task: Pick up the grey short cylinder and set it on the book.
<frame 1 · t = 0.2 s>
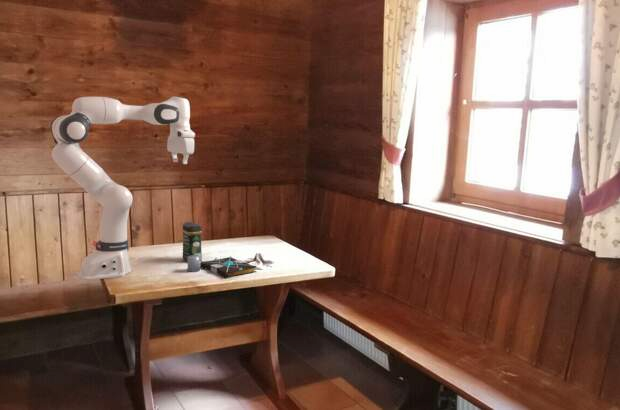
hand: (180, 163, 240), 47 cm above the table, fingers open, 8 cm apart
coffee jar: (192, 260, 252), on the table
cloth: (261, 264, 251), on the table, touching book
book: (228, 271, 238), on the table, touching cloth
grey short cylinder: (193, 270, 235), on the table
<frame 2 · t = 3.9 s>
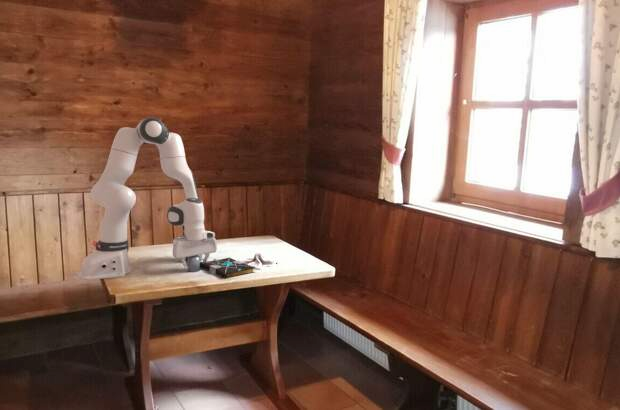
hand: (195, 264, 234), 3 cm above the table, fingers open, 8 cm apart
book: (227, 272, 238), on the table, touching cloth, gripper
everything else where it was.
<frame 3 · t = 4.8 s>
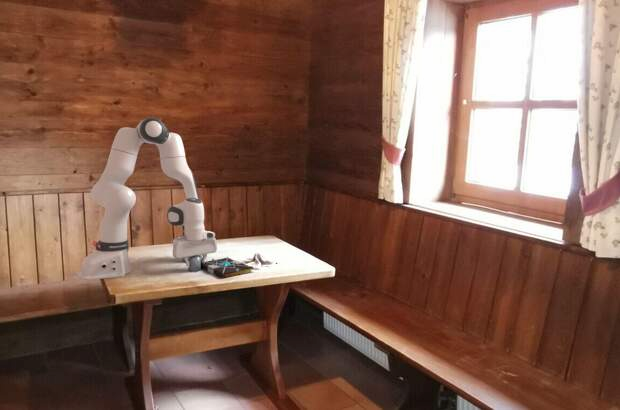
hand: (195, 264, 234), 3 cm above the table, fingers closed on grey short cylinder, 5 cm apart
cloth: (260, 264, 250), on the table
book: (225, 272, 238), on the table, touching gripper
grey short cylinder: (194, 270, 235), on the table, touching gripper
everything else where it was.
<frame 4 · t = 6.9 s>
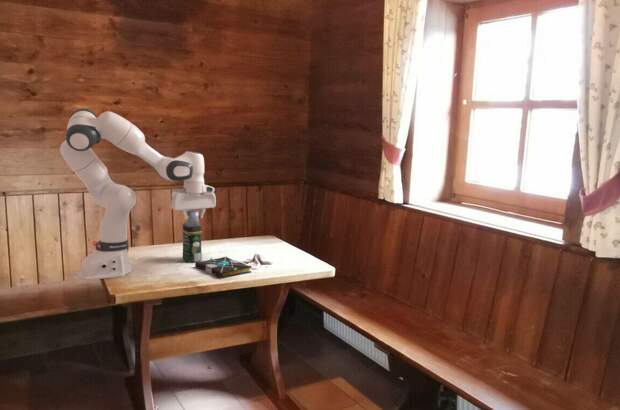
hand: (193, 218, 231), 24 cm above the table, fingers closed on grey short cylinder, 5 cm apart
book: (223, 271, 238), on the table
grey short cylinder: (192, 225, 232), point 21 cm above the table, touching gripper
everything else where it was.
when the fingers open (7 cm above the table, at t = 10.9 s): grey short cylinder stays where it is, resting on book.
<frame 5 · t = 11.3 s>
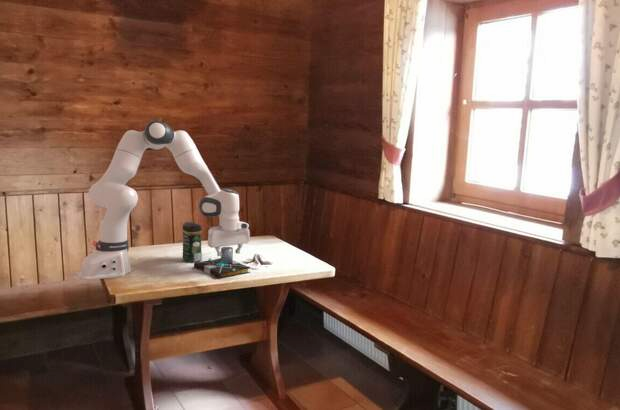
hand: (228, 254, 237), 7 cm above the table, fingers open, 8 cm apart
book: (221, 272, 237), on the table, touching grey short cylinder
grey short cylinder: (226, 261, 238), point 3 cm above the table, touching book
everything else where it was.
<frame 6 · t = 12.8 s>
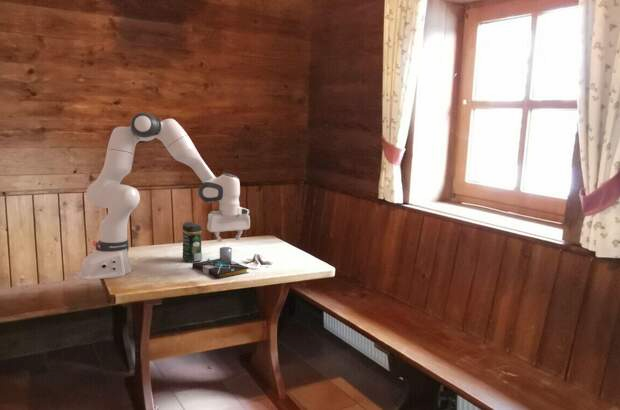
hand: (228, 240, 235), 14 cm above the table, fingers open, 8 cm apart
nothing on the table moved.
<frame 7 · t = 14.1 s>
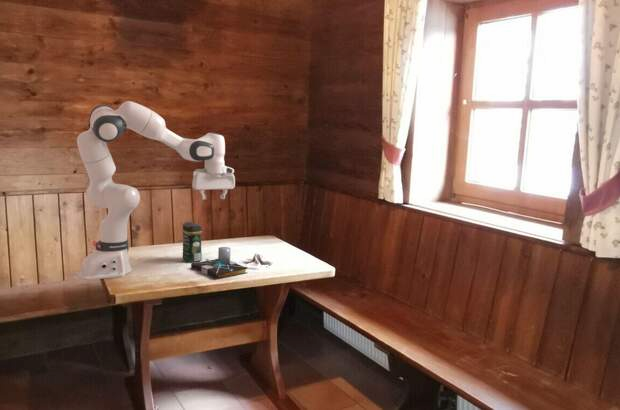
hand: (213, 199, 238), 32 cm above the table, fingers open, 8 cm apart
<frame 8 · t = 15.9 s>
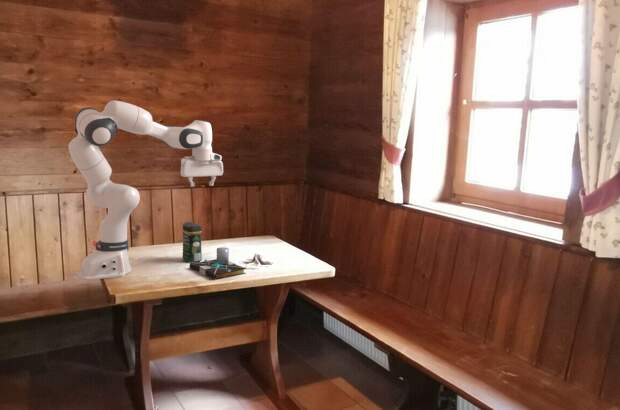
hand: (202, 186, 240), 37 cm above the table, fingers open, 8 cm apart
at the end: grey short cylinder inside the target area in the book (2.7 cm from its centre), point 4.3 cm above the book's base; grey short cylinder tilted 0°; the gripper is holding nothing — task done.
